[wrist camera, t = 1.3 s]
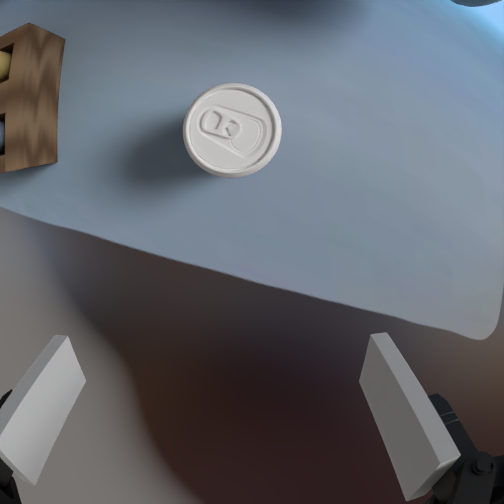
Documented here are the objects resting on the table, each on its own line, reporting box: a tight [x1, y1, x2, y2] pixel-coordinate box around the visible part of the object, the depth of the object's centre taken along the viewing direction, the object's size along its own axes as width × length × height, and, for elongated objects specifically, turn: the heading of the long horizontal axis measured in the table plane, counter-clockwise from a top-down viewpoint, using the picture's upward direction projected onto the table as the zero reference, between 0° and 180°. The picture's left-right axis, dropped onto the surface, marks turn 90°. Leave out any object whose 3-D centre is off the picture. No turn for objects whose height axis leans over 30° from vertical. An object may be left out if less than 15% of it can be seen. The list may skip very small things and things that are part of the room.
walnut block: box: [0, 23, 65, 173], centre depth 25 cm, size 18×9×9 cm, turn 178°
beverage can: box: [183, 83, 282, 178], centre depth 27 cm, size 8×8×12 cm
